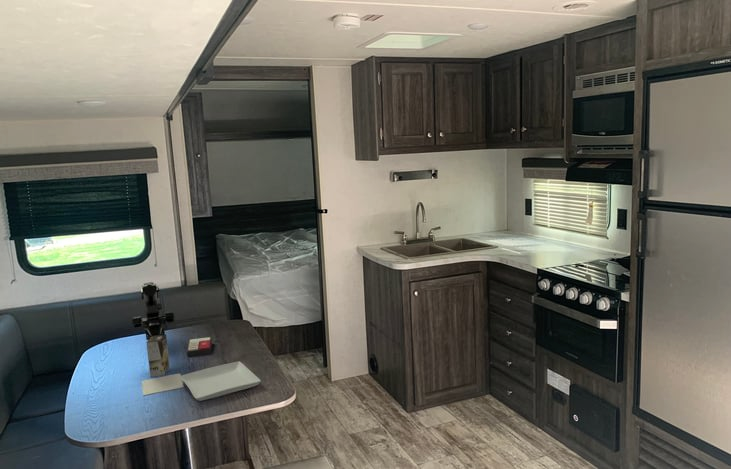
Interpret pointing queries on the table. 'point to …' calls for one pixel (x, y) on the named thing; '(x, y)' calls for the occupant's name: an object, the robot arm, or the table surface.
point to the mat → (161, 384)
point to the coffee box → (158, 355)
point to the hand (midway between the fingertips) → (155, 335)
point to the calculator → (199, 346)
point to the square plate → (219, 380)
